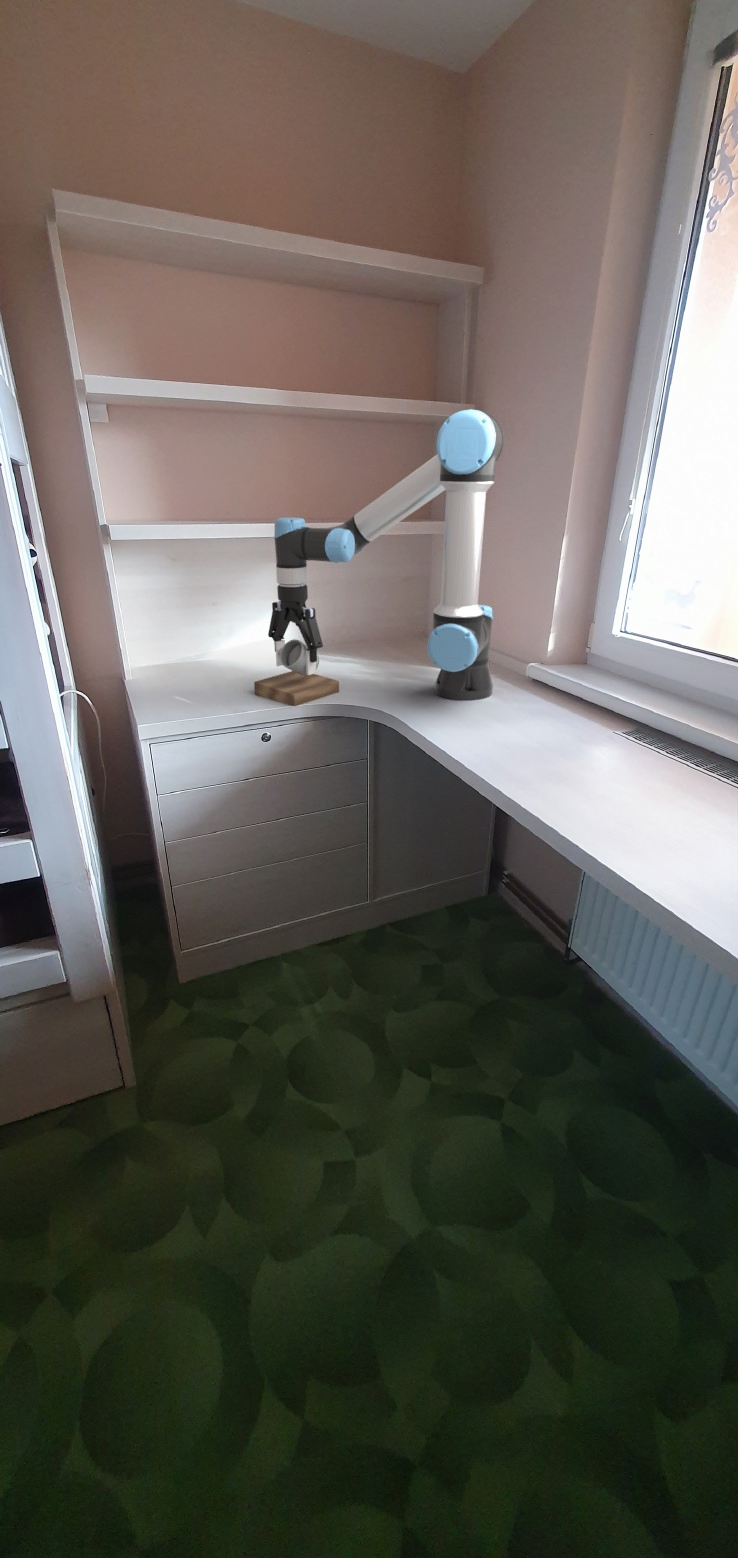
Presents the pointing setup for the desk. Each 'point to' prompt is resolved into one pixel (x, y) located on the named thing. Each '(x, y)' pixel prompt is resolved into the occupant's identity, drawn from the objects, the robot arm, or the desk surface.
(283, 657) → the ceramic mug
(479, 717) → the desk surface
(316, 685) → the walnut block
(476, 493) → the robot arm
